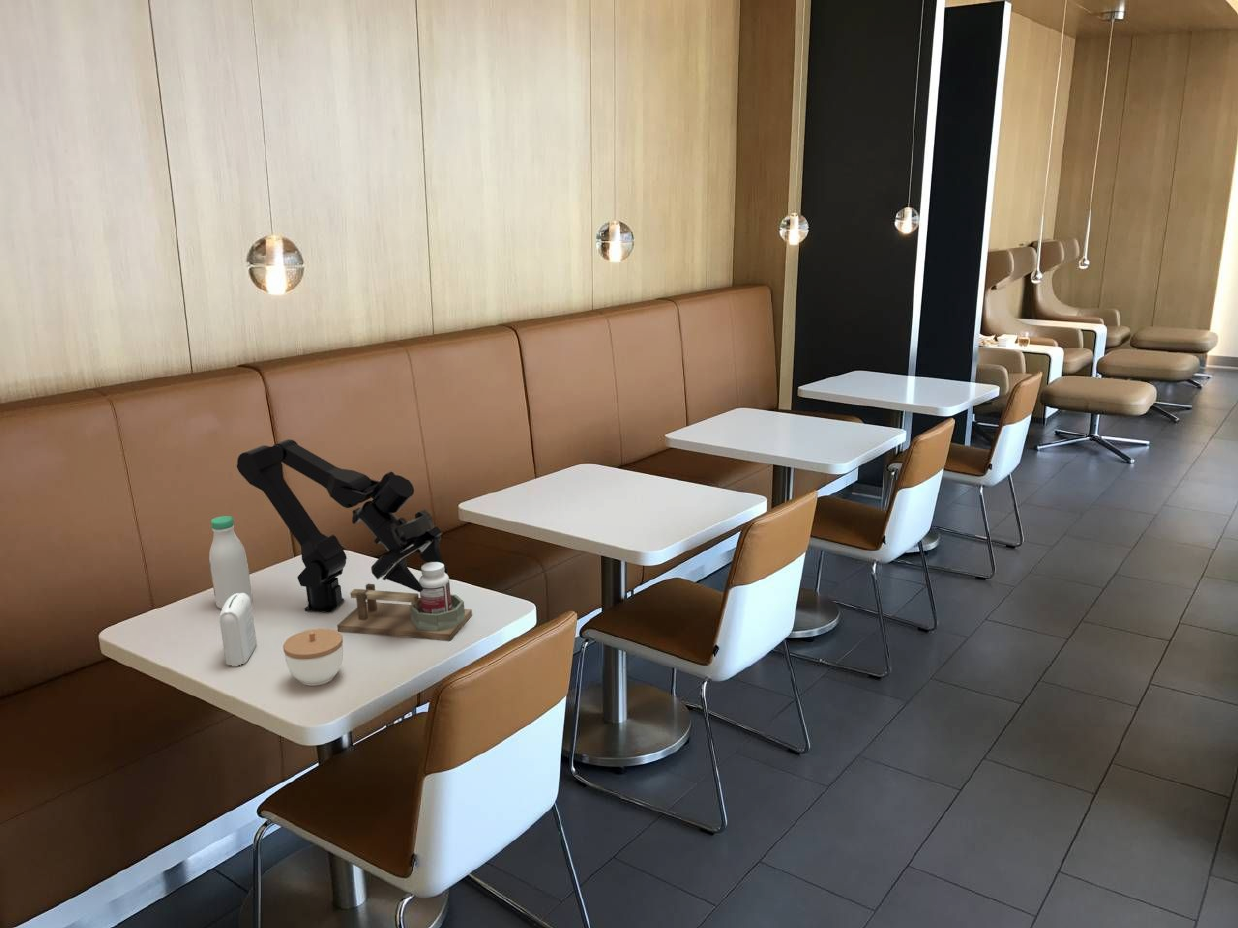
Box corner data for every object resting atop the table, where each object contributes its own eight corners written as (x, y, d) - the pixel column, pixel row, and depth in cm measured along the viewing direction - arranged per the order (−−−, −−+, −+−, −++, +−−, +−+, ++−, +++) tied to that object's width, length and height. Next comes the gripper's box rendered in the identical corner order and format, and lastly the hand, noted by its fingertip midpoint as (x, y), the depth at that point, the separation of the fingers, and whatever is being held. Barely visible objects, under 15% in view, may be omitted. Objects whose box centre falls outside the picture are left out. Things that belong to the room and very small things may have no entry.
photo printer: (238, 644, 210) (229, 588, 206) (259, 642, 210) (251, 586, 206) (223, 668, 200) (214, 609, 196) (246, 666, 200) (237, 608, 196)
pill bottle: (436, 606, 218) (431, 558, 215) (458, 612, 215) (454, 563, 212) (415, 617, 213) (411, 568, 210) (438, 623, 210) (433, 574, 207)
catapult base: (337, 631, 214) (333, 599, 212) (364, 607, 225) (361, 576, 223) (450, 640, 208) (447, 607, 206) (472, 615, 219) (469, 584, 217)
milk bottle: (260, 600, 230) (248, 516, 224) (231, 613, 224) (218, 527, 218) (237, 593, 234) (225, 510, 228) (208, 606, 228) (195, 521, 222)
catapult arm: (343, 623, 214) (340, 600, 212) (366, 603, 223) (363, 580, 222) (452, 632, 208) (450, 608, 207) (470, 611, 218) (468, 588, 216)
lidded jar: (294, 666, 199) (288, 622, 197) (351, 662, 200) (345, 618, 198) (282, 694, 189) (275, 647, 187) (341, 690, 190) (335, 644, 187)
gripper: (378, 517, 201) (430, 577, 200) (431, 488, 217) (479, 543, 216) (349, 549, 206) (400, 608, 205) (403, 519, 223) (450, 573, 221)
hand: (434, 582), depth 212 cm, fingers open, 9 cm apart
